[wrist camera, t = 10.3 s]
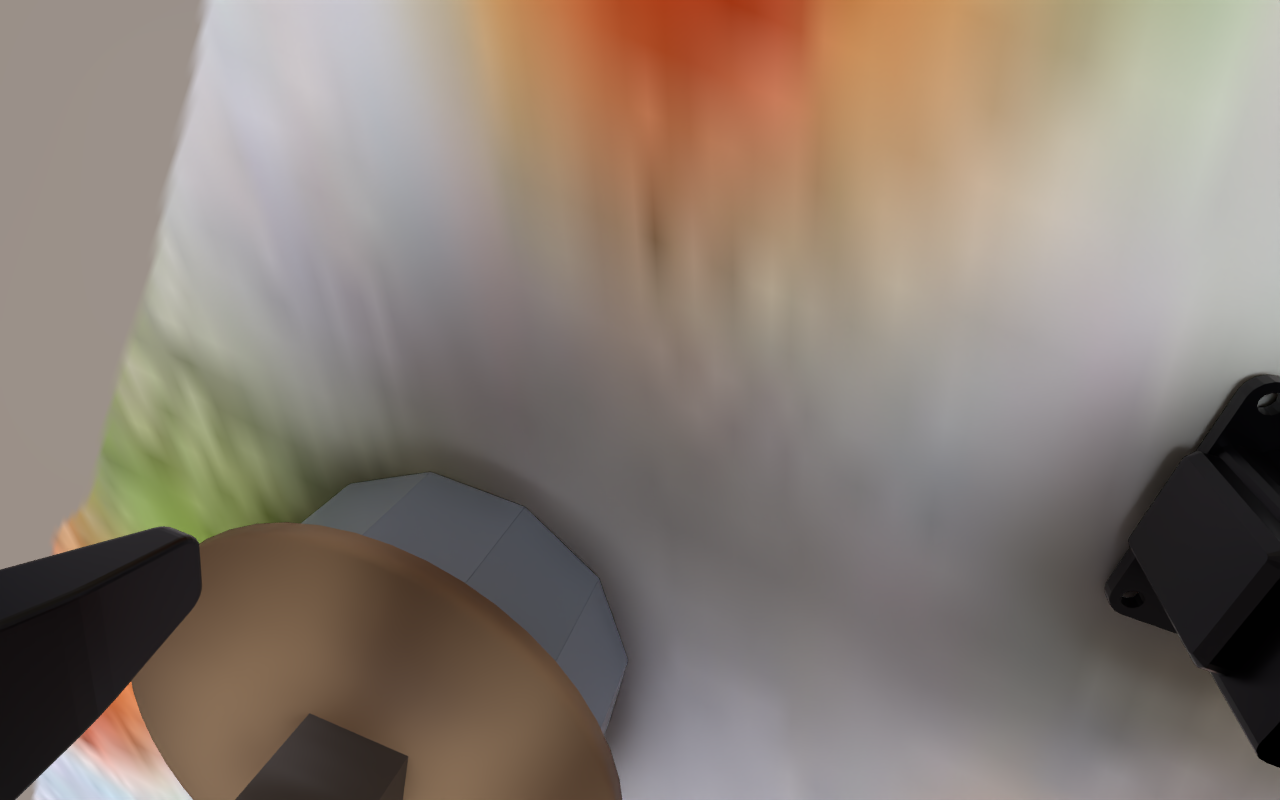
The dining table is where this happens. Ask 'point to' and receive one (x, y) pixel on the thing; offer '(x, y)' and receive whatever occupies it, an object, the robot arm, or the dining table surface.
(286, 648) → the walnut lid
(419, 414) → the dining table surface
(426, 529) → the slate bowl
